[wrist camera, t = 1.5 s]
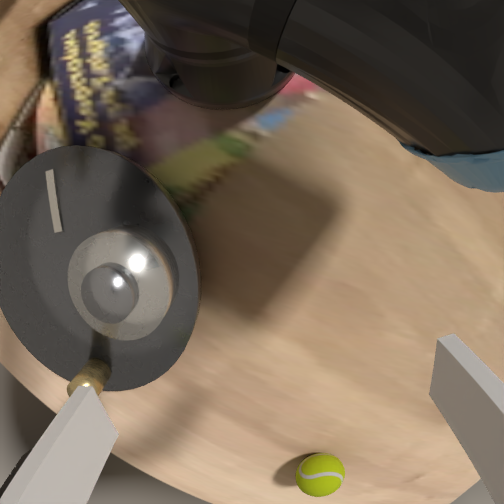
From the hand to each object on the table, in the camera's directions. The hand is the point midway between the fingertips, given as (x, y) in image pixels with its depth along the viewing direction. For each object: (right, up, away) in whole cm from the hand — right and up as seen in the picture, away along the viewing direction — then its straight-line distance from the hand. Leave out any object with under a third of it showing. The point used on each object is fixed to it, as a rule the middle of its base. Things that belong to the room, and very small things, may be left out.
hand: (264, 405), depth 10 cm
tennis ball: (+9, -24, +27) cm, 37 cm away
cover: (-11, +3, +17) cm, 20 cm away
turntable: (-18, +3, +19) cm, 26 cm away
